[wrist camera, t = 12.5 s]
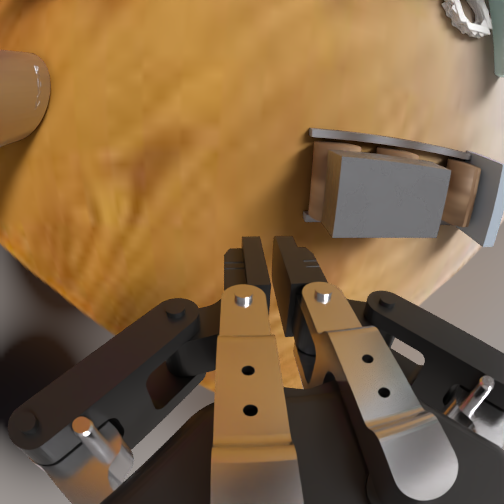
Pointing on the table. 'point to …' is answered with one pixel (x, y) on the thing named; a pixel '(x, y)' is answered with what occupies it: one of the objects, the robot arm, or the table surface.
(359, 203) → the slab
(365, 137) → the roller bed
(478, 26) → the l-shaped corner panel
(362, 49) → the table surface
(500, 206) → the stop gate
